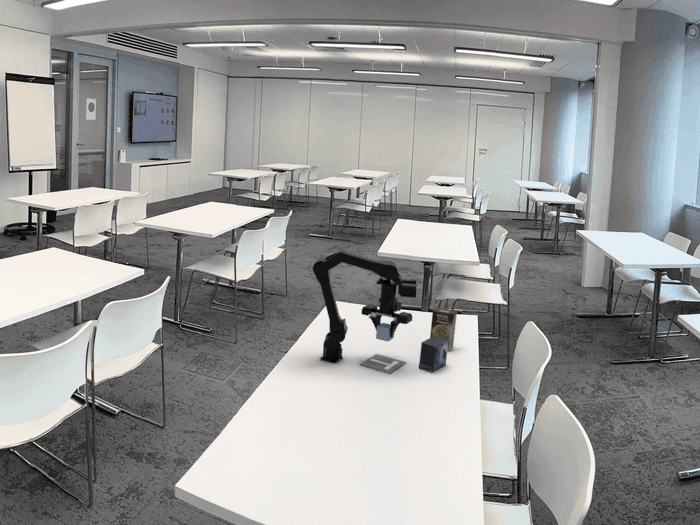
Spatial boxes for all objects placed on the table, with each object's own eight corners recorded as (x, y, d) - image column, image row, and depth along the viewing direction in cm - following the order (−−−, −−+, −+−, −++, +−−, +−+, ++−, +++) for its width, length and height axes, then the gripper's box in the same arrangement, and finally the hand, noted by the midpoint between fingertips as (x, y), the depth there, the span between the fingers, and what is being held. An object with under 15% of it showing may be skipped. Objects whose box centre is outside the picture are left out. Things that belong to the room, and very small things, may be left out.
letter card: (359, 365, 218) (359, 363, 218) (376, 354, 229) (376, 353, 229) (390, 374, 212) (390, 372, 212) (406, 363, 223) (406, 361, 223)
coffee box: (428, 347, 240) (431, 310, 237) (432, 342, 246) (435, 306, 242) (450, 352, 237) (454, 314, 233) (453, 347, 243) (457, 310, 239)
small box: (433, 373, 215) (435, 346, 213) (418, 368, 219) (420, 341, 216) (446, 365, 223) (449, 339, 221) (432, 360, 227) (434, 335, 225)
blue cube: (376, 338, 218) (376, 326, 217) (381, 335, 223) (382, 322, 222) (387, 341, 216) (388, 328, 215) (393, 337, 220) (394, 325, 219)
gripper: (419, 295, 218) (416, 335, 222) (375, 287, 227) (373, 325, 230) (407, 302, 209) (404, 343, 212) (361, 293, 217) (359, 332, 221)
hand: (385, 335), depth 219 cm, fingers closed on blue cube, 5 cm apart
